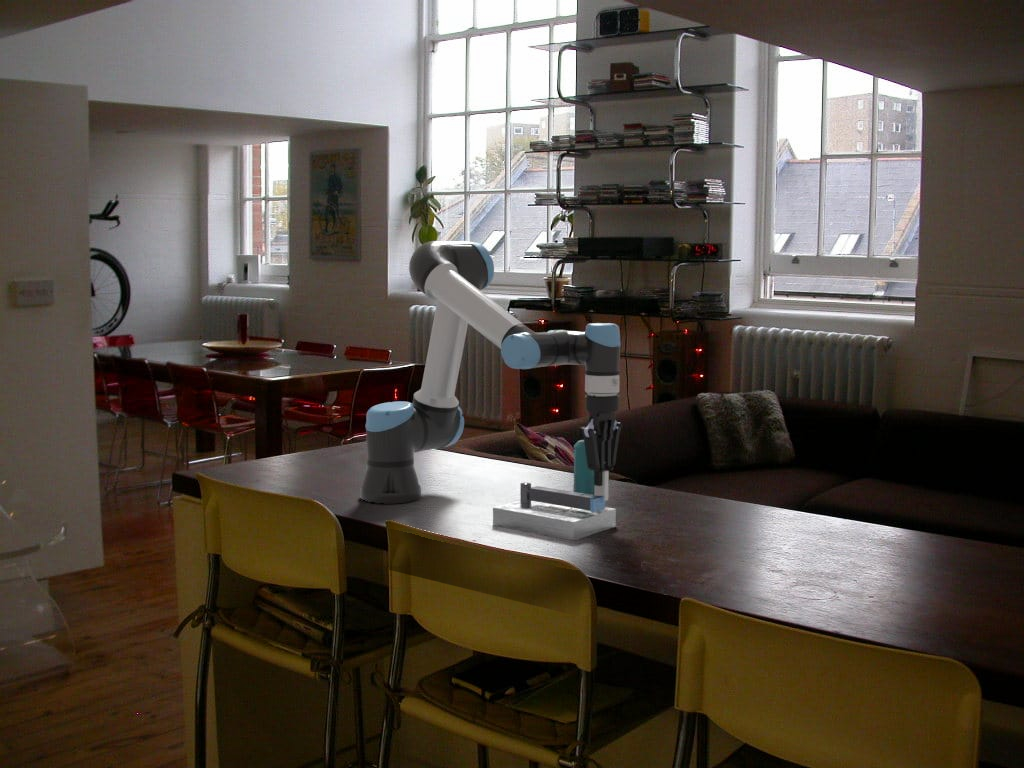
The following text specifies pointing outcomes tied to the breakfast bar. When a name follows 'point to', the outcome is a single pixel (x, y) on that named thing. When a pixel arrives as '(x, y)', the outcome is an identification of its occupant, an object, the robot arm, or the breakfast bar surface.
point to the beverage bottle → (582, 469)
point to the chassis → (551, 518)
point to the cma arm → (567, 498)
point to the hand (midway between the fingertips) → (601, 499)
